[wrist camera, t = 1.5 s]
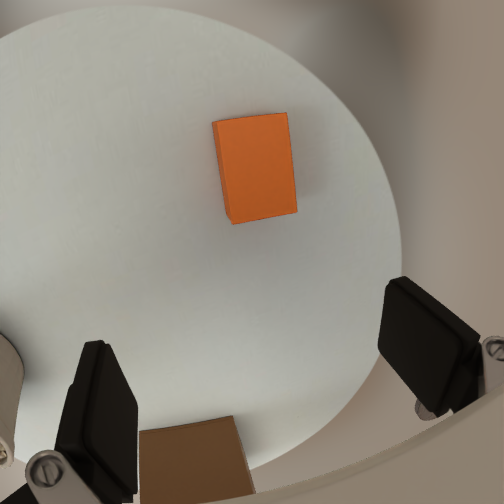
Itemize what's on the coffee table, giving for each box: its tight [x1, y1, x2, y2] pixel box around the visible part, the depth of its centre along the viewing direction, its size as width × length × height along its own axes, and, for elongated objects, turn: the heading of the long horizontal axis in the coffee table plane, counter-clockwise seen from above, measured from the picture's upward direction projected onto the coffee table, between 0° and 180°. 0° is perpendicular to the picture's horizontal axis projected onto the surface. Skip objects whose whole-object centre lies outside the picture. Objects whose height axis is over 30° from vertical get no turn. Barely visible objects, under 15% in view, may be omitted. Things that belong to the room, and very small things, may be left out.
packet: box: [212, 113, 297, 225], centre depth 23 cm, size 8×5×3 cm, turn 8°
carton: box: [139, 416, 256, 504], centre depth 30 cm, size 12×11×14 cm
